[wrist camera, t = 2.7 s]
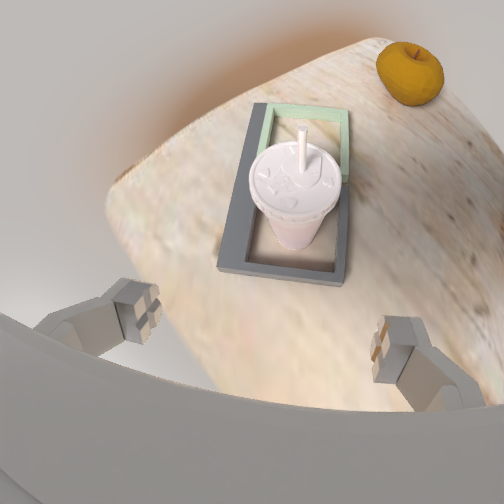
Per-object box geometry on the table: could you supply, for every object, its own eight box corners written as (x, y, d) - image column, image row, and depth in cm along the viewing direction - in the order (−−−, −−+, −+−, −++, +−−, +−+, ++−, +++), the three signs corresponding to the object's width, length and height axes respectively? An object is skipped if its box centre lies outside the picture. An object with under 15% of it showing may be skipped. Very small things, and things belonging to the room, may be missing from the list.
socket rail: (346, 118, 33) (347, 110, 31) (340, 287, 26) (343, 283, 25) (255, 111, 35) (254, 102, 33) (220, 271, 28) (216, 266, 27)
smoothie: (341, 237, 28) (375, 142, 15) (288, 277, 27) (285, 202, 14) (300, 191, 30) (300, 83, 17) (248, 226, 29) (215, 128, 16)
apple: (361, 98, 34) (370, 44, 25) (384, 71, 35) (393, 23, 27) (422, 131, 31) (444, 80, 23) (437, 99, 33) (455, 53, 24)
